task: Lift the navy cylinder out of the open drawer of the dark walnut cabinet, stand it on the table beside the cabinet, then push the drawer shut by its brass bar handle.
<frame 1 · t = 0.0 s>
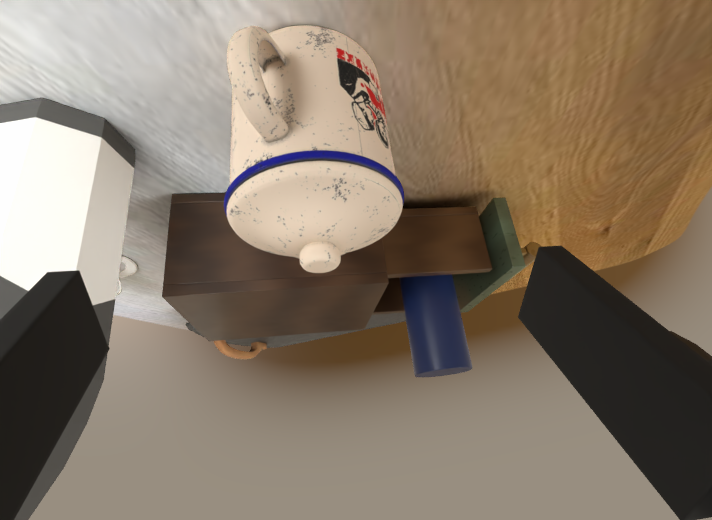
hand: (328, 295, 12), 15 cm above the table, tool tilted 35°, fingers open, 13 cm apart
teacup with lid: (297, 67, 23), on the table
serving tray: (318, 301, 62), on the table
navy cylinder: (419, 244, 41), point 2 cm above the table, touching drawer
drawer: (432, 264, 40), point 4 cm above the table, slide at 11.0 cm, touching navy cylinder
wine bottle: (68, 141, 26), on the table
cabinet: (282, 232, 40), on the table
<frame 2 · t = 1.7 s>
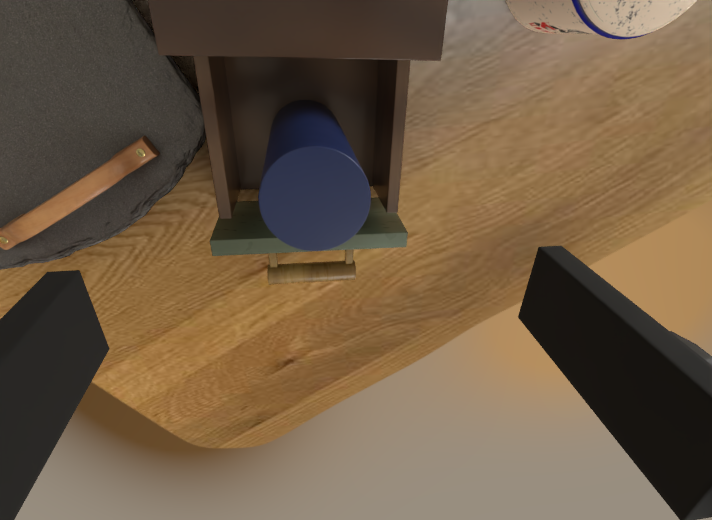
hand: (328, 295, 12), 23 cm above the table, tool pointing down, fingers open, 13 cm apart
navy cylinder: (306, 136, 29), point 2 cm above the table, touching drawer
drawer: (307, 158, 28), point 4 cm above the table, slide at 11.0 cm, touching navy cylinder
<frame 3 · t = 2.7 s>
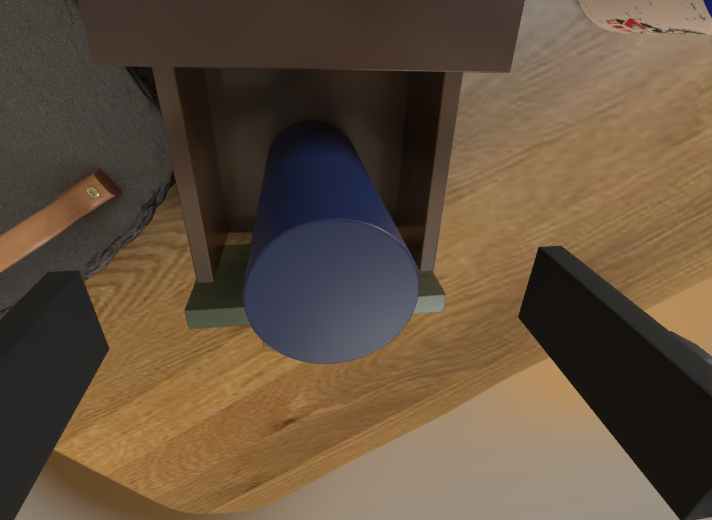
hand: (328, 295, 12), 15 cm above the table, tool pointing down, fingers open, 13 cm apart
navy cylinder: (312, 167, 23), point 2 cm above the table, touching drawer
drawer: (315, 198, 21), point 4 cm above the table, slide at 11.0 cm, touching navy cylinder
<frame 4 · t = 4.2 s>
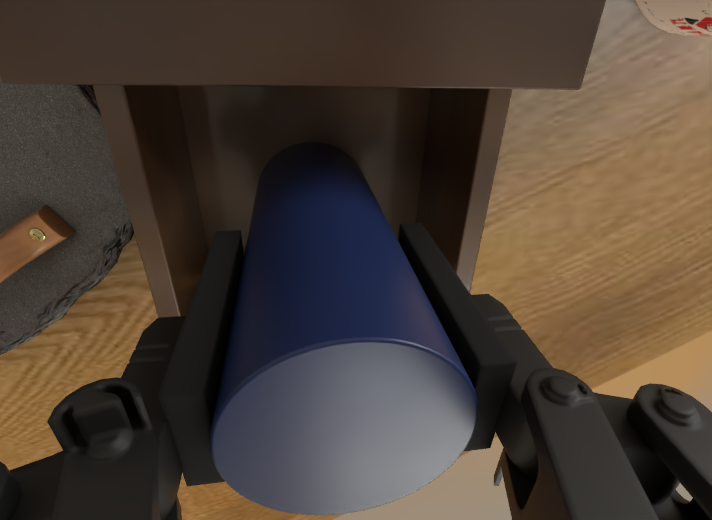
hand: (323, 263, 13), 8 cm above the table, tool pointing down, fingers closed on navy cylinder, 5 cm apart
navy cylinder: (313, 197, 19), point 2 cm above the table, touching drawer, gripper
drawer: (316, 238, 17), point 4 cm above the table, slide at 11.0 cm, touching navy cylinder
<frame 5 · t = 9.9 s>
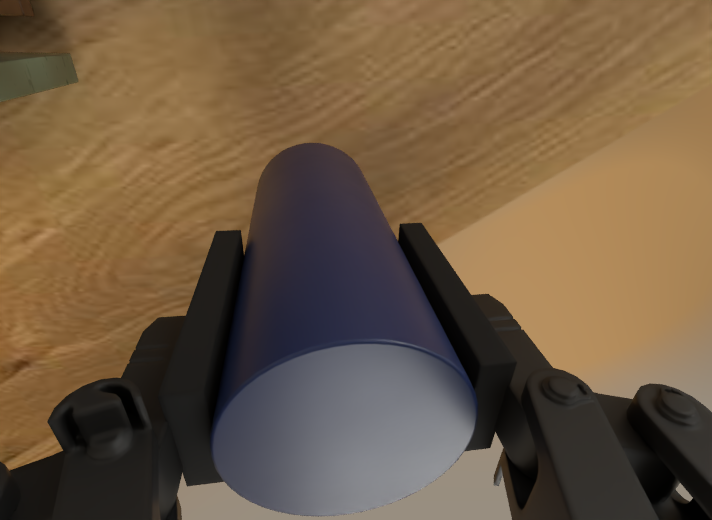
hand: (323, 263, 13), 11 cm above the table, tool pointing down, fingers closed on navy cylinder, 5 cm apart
navy cylinder: (313, 197, 19), point 5 cm above the table, touching gripper
when the fingers open (6 cm above the table, at t = 11.5 s): navy cylinder stays where it is, on the table.
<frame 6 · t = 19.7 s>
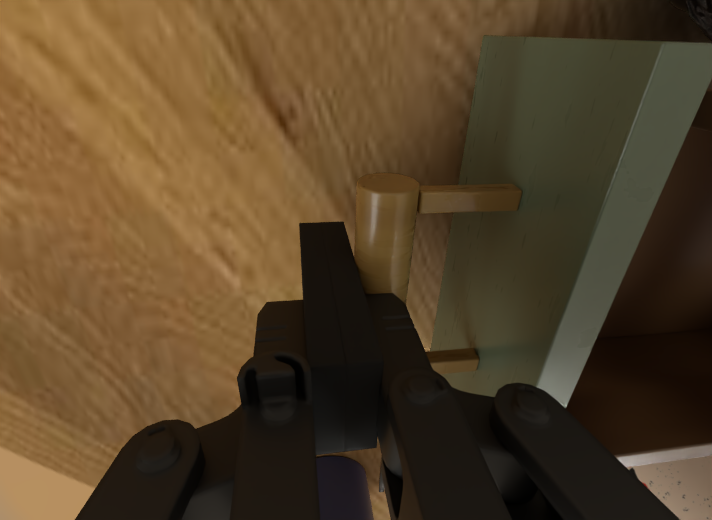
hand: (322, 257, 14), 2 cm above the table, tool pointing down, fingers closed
teacup with lid: (638, 455, 29), on the table
navy cylinder: (324, 481, 24), on the table
drawer: (641, 271, 13), point 4 cm above the table, slide at 10.5 cm, touching gripper
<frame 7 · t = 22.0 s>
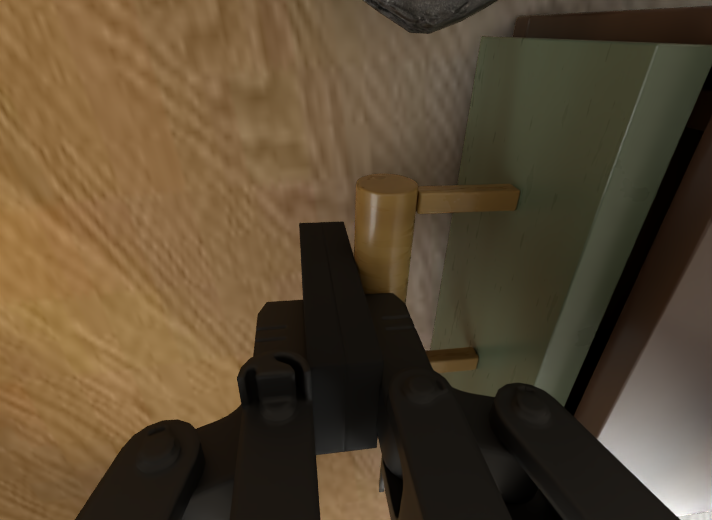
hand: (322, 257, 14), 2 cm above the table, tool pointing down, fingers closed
drawer: (639, 270, 14), point 4 cm above the table, slide at 0.3 cm, touching gripper
cabinet: (650, 214, 18), on the table
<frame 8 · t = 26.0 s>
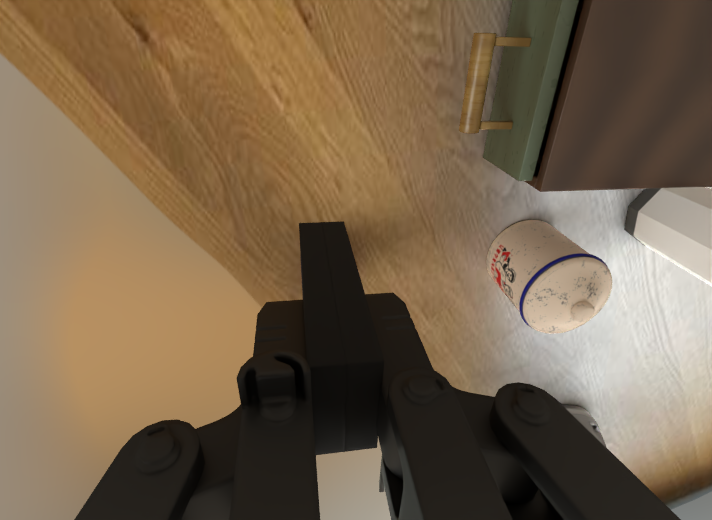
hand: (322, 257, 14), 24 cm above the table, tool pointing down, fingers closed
teacup with lid: (521, 261, 46), on the table
drawer: (580, 85, 32), point 4 cm above the table, slide at 0.3 cm
wine bottle: (655, 209, 45), on the table
cabinet: (592, 80, 37), on the table
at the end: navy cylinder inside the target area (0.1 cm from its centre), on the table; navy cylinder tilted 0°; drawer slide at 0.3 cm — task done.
